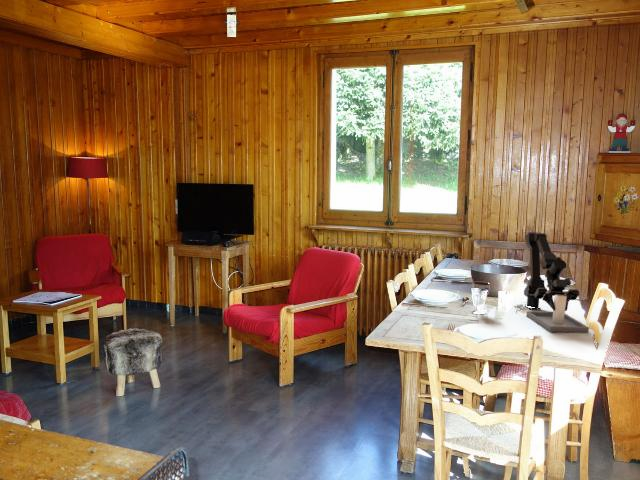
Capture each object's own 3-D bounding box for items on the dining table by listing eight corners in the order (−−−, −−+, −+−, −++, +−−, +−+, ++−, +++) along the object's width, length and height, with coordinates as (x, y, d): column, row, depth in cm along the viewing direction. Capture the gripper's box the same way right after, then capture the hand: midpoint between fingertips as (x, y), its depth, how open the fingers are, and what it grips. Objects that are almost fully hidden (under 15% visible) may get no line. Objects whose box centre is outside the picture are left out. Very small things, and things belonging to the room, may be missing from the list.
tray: (526, 316, 278) (526, 311, 278) (561, 316, 280) (562, 311, 279) (549, 332, 255) (550, 327, 254) (588, 332, 256) (588, 327, 256)
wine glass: (486, 316, 276) (489, 285, 274) (469, 313, 279) (472, 283, 276) (488, 311, 283) (490, 282, 281) (471, 309, 286) (474, 280, 284)
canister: (549, 322, 261) (552, 295, 259) (556, 321, 264) (559, 293, 262) (558, 325, 257) (562, 297, 255) (565, 324, 260) (569, 296, 258)
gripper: (539, 270, 261) (545, 300, 252) (580, 272, 260) (588, 302, 251) (531, 283, 270) (537, 312, 261) (571, 284, 270) (578, 314, 261)
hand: (560, 310), depth 258 cm, fingers closed on canister, 5 cm apart
